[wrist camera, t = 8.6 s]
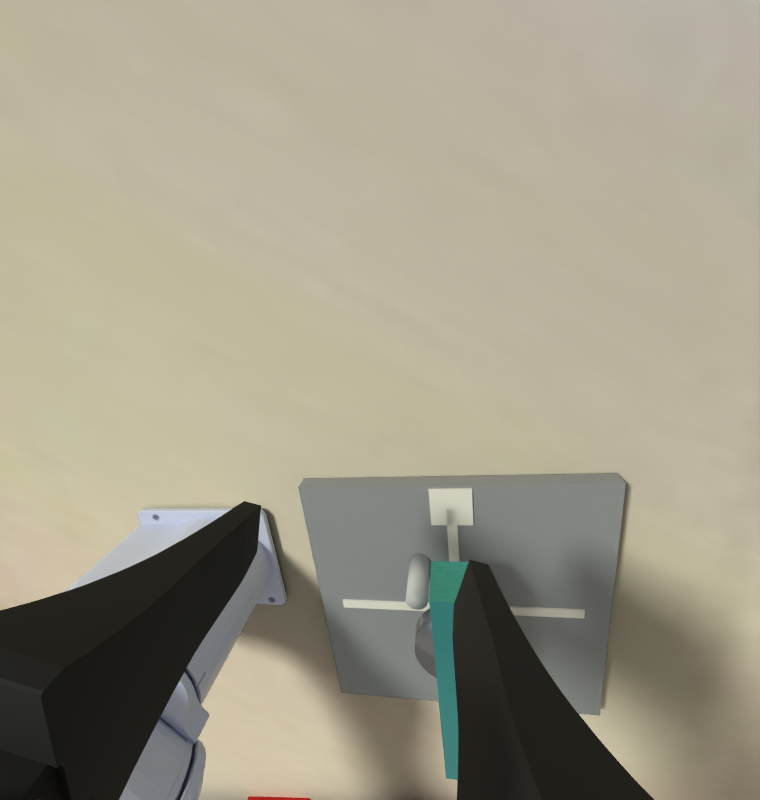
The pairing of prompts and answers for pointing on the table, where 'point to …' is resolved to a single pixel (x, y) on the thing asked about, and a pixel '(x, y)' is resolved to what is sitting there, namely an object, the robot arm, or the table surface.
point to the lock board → (460, 542)
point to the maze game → (275, 798)
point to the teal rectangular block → (442, 651)
